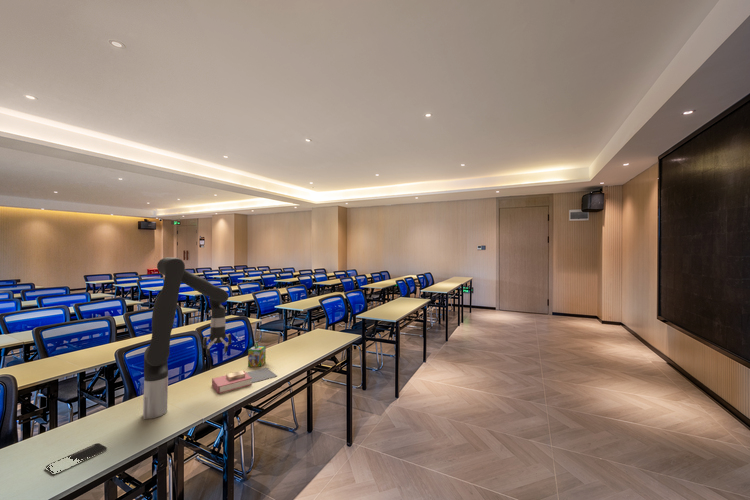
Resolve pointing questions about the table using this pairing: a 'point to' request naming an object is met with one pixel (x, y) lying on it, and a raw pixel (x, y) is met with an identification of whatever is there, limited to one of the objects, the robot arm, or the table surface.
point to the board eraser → (235, 375)
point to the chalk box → (256, 356)
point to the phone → (85, 453)
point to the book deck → (230, 383)
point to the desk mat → (261, 375)
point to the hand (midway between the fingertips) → (217, 353)
